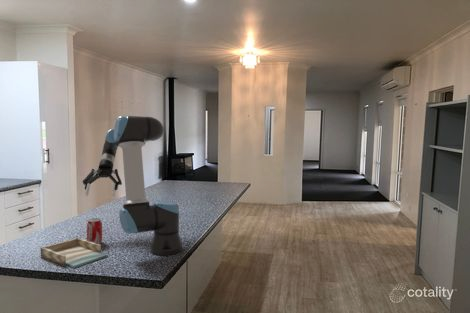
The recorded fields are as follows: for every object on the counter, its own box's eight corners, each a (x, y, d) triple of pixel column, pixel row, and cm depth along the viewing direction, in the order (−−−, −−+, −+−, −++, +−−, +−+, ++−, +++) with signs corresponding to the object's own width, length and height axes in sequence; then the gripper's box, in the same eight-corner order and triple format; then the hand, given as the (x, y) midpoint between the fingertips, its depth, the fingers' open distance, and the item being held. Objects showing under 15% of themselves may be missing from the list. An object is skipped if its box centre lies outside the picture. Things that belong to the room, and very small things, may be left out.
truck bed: (109, 256, 156) (108, 247, 156) (71, 268, 141) (71, 259, 141) (78, 245, 170) (78, 237, 169) (40, 256, 155) (40, 247, 154)
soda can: (83, 244, 172) (83, 220, 171) (94, 240, 178) (94, 217, 177) (95, 246, 169) (94, 222, 168) (105, 242, 176) (105, 218, 175)
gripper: (130, 167, 201) (125, 198, 187) (85, 167, 198) (76, 198, 184) (128, 159, 195) (122, 190, 181) (82, 159, 192) (73, 190, 179)
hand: (99, 194), depth 183 cm, fingers open, 13 cm apart
